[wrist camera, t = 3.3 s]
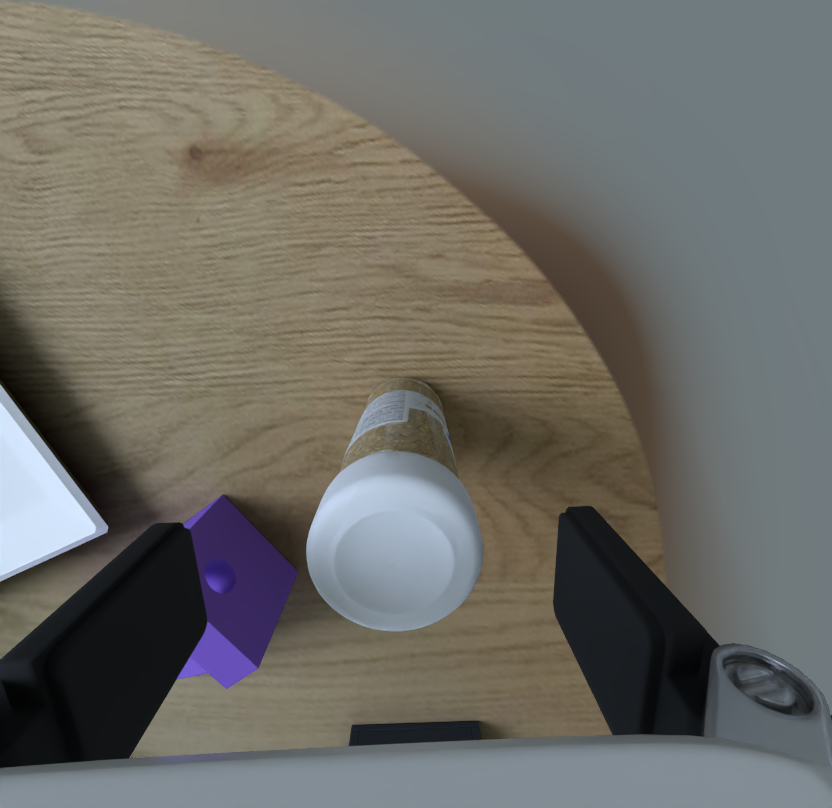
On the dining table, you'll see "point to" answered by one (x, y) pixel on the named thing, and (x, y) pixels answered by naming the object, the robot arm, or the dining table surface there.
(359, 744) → the dark grey square tray
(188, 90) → the dining table surface
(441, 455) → the sprinkles bottle
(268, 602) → the bracket
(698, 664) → the robot arm
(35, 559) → the plate
